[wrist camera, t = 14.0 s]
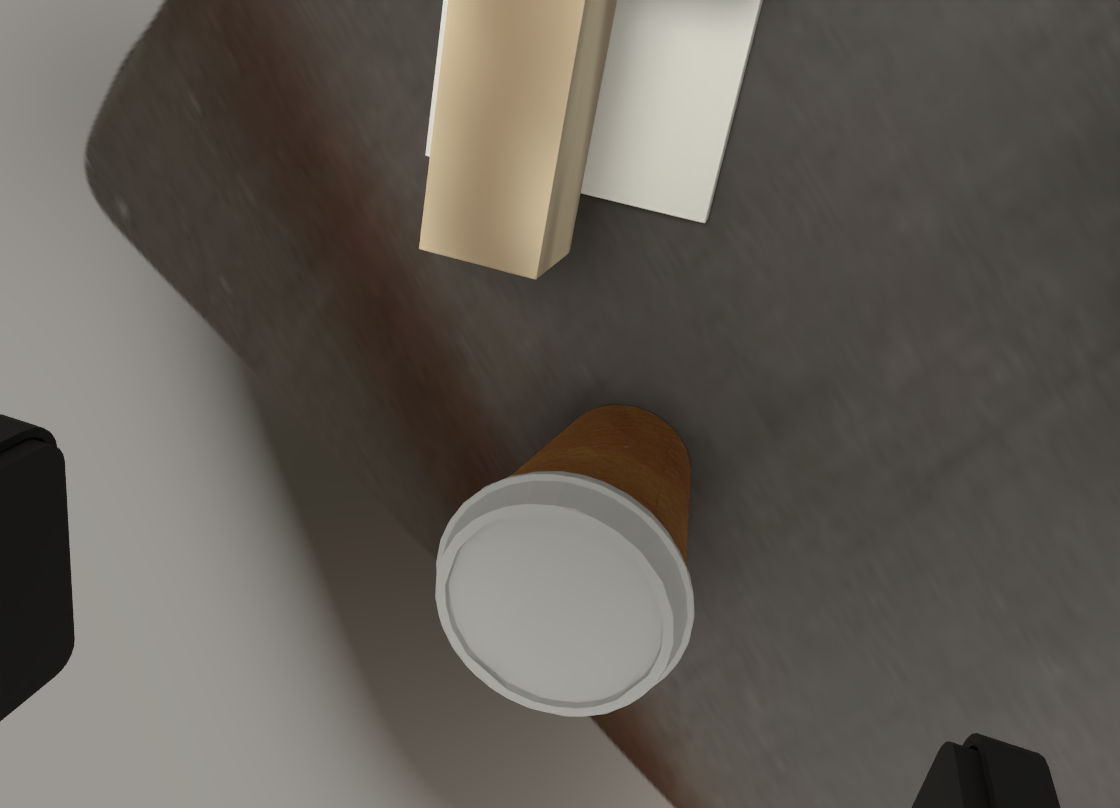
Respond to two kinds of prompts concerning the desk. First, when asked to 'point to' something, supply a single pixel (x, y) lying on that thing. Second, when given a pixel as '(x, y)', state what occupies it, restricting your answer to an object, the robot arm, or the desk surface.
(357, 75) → the desk surface
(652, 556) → the disposable coffee cup
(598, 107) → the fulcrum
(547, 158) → the rod
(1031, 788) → the robot arm
